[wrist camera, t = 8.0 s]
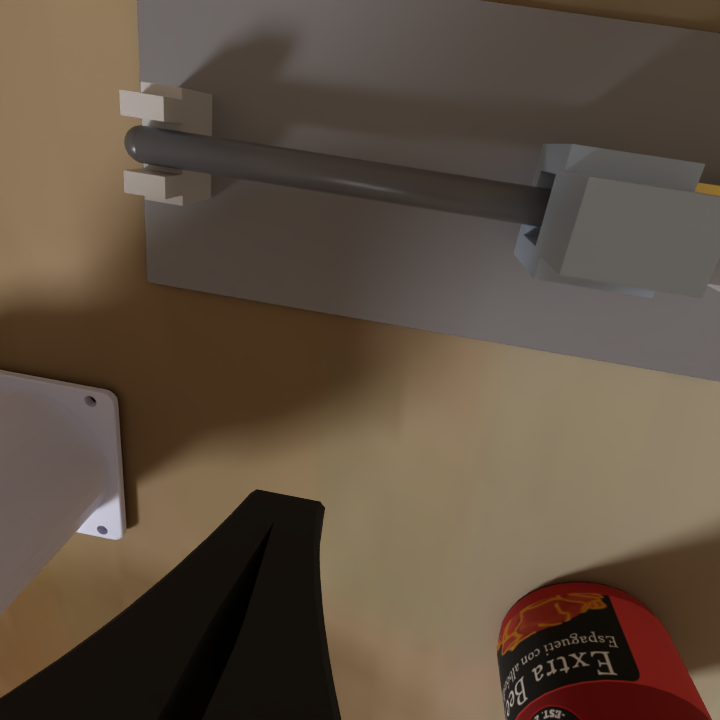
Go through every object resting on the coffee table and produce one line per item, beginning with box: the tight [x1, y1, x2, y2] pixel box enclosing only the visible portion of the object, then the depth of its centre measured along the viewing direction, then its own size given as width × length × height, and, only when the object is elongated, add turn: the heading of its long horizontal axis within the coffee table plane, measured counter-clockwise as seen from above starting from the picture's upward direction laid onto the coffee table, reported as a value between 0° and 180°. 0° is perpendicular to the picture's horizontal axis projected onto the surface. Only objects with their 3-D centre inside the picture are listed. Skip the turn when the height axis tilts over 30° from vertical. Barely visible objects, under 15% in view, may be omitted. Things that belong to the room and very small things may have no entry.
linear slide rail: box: [119, 0, 720, 381], centre depth 15 cm, size 21×10×4 cm, turn 82°
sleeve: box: [514, 144, 720, 299], centre depth 13 cm, size 3×3×5 cm
